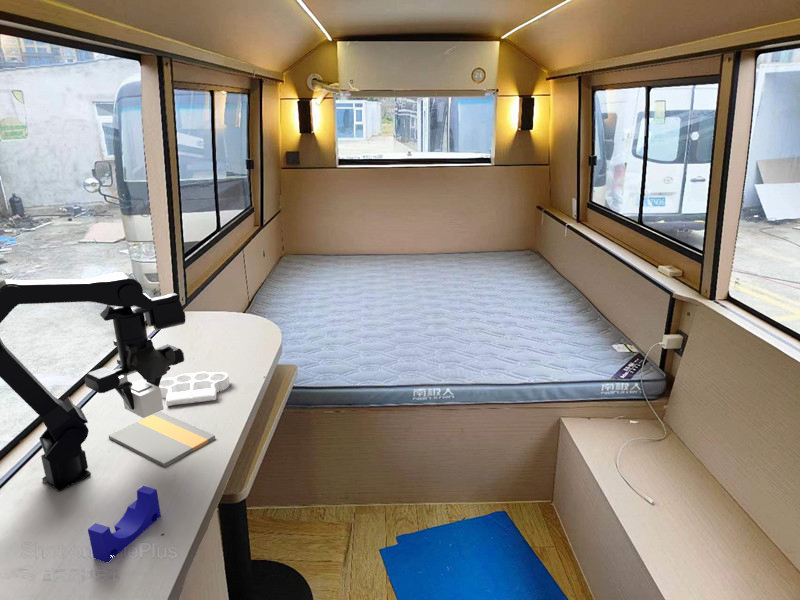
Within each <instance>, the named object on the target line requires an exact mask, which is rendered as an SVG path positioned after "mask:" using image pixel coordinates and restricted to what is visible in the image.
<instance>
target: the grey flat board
mask: <svg viewBox="0 0 800 600" xmlns="http://www.w3.org/2000/svg"><path fill="white" fill-rule="evenodd" d="M108 439H109V440H111V441H114V442H115V443H116V444H119V445H121V446H122V447H124V448H127V449H128V450H131V451H132V452H135V453H136V454H138V455H140V456H141V457H144V458H146V459H148V460H150V461H152V462H154V463H156V464H158V465H160V466H161V467H164V468H166V467H168V466H169V465H172V464H173V463H174V462H176V461H178V460H179V459H181V458H182V459H183V457H185V456H187V455H188V454H190V453H192V452H194V451H196V450H197V449H199V448H202V447H203V446H204V445H207V444H208V443H210V442H212V441H214V440H216V434H212V433H210V432H208V431H206V430H204V429H201V428H199V427H197V426H195V425H192V424H189V423H188V422H185V421H183V420H181V419H178V418H176V417H174V416H173V415H172V416H171V415H169V414H168V413H167V414H166V413H165V412H162V411H159V412H156V413H154V414H152V415H150V416H148V417H145V418H142V419H141V420H138V421H136V422H133V423H132V424H130V425H128V426H126V427H123V428H121V429H119V430H117V431H114V432H113V433H110V434H108Z"/></svg>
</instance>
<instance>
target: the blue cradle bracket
mask: <svg viewBox="0 0 800 600" xmlns="http://www.w3.org/2000/svg"><path fill="white" fill-rule="evenodd" d="M136 493H137V494H136V499H135V500H134V501H133V502H132V503H131V504H130V505H128V506H127V509H126V510H125V512H124V514H123V516H122V517H121V518H120V520H119V521H118V522H117V523H116V524H115V525H114V532H112V531H111V528H110V527H109V526H107V525H104V524H103V525H102V524H100V523H97V522H95V523H94V524H92V525H91V526H89V527H88V528H87V532H88V537H89V541H90V546H91V551H92V557H93V559H94V558H96V559H95V560H97V559H98V560H97V561H100V560H101V562H103V561H104V562H103V563H106V562H109V561H110V560H111V559H112V557H111V556H110V555H112V556H113V555H114V556H115V557H117V556H118V555H119V554H121V552H122V551H124V550H125V549H126V548H127V547H128V546H130V545H131V543H133V542H134V541H135V540H136V539H137V538H138V537H140V536H141V535H142V534H143V533H144V532H145V531H146V530H147V529H149V528H150V527H151V526H152V525H153V524H155V522H156V521H158V520H159V519H160V518H161V517H162V515H161V509H160V502H159V501H160V500H159V496H158V490H157V488H154V487H149V486H146V485H142V486H141V487H140V488H139V489H137V490H136ZM125 547H126V548H125ZM124 548H125V549H124ZM117 554H118V555H117ZM116 555H117V556H116ZM114 556H113V559H114V558H115V557H114ZM110 557H111V558H110ZM113 559H112V560H113ZM112 560H111V561H112ZM111 561H110V562H111ZM110 562H109V563H110Z"/></svg>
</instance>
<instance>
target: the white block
mask: <svg viewBox="0 0 800 600" xmlns="http://www.w3.org/2000/svg"><path fill="white" fill-rule="evenodd" d="M132 383H133V384H132V387H131V392H132V396H133V401H134V409H133V410H132V409H130V408H129V406H128V405H127V404H126V402H125V401H124V400H123V399H122V400H123V405H124V409H125V410H127V411H129V412H130V413H133V414H135V415H136V416H139V417H141V418H142V419H144V418H146V417H149V416H151V415H153V414H155V413H157V412H159V411H160V412H162V411H163V410H164V404H163V398H162V396H161V389H160V387H157V386H155V385H153V384H151V383H148V382H147V381H146V380H145V379H138V380H136V381H133V382H132Z"/></svg>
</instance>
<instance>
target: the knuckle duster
mask: <svg viewBox="0 0 800 600" xmlns="http://www.w3.org/2000/svg"><path fill="white" fill-rule="evenodd" d="M228 386H229V387H230V378H229V374H228V373H227V372H224V371H218V372H208V371H199V372H195V373H194V372H193V373H192V372H191V373H183V374H178V375H177V376H174V377H165V378H161V381H160V384H159V387H160V389H161V396H162V399H165V400H166V402H165V403H166V406H167V407H168V406H169V407H171V406H177V405H186V404H195V403H201V402H209V401H210V402H211V401H217V394H218V393H219V391H220V392H223V391H225V390H224V389H226V388H227V387H228ZM229 387H228V388H229ZM228 388H227V389H228ZM227 389H226V390H227ZM222 390H223V391H222ZM217 392H218V393H217Z"/></svg>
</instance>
